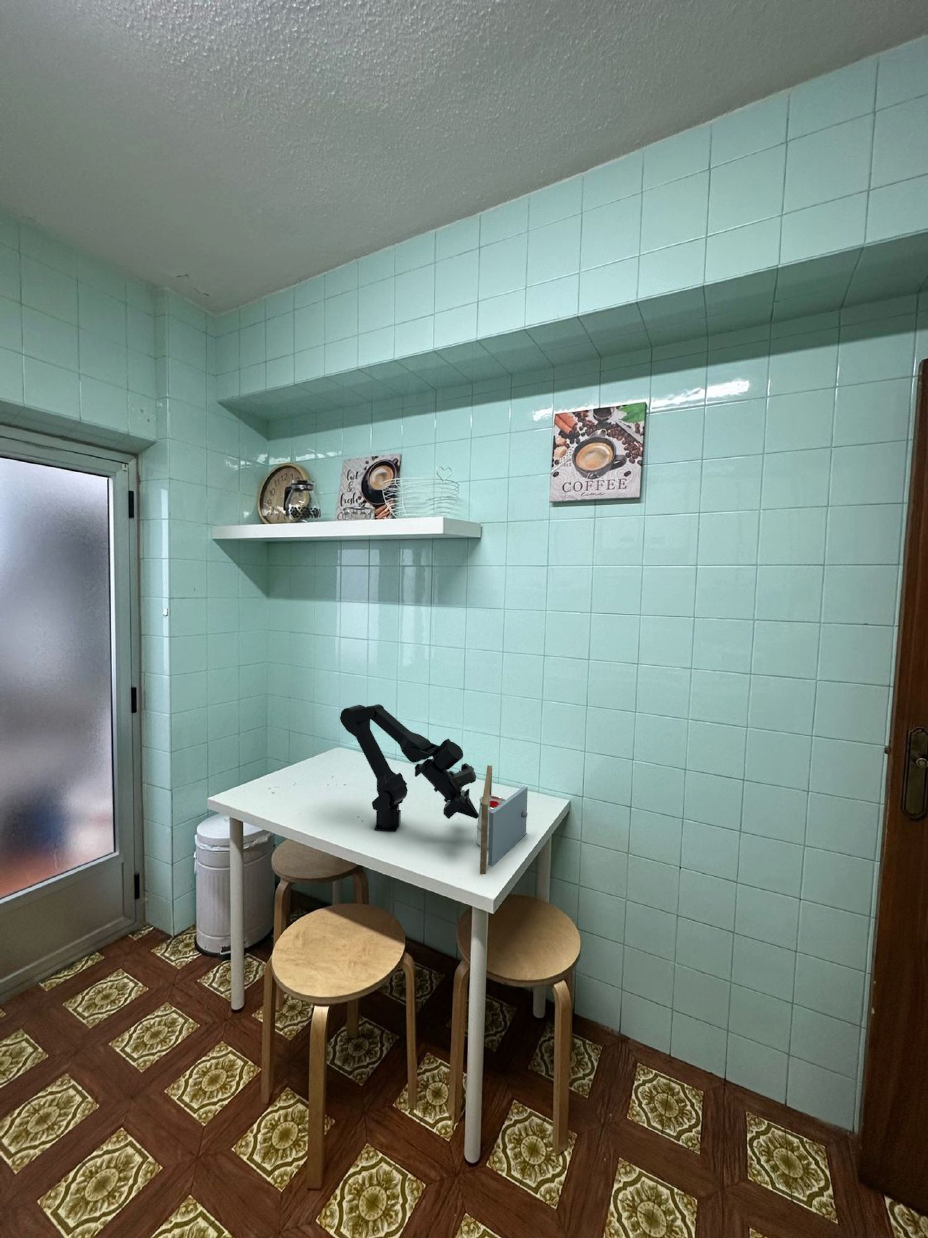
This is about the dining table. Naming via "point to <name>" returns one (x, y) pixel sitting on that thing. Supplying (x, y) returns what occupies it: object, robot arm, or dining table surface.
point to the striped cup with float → (493, 803)
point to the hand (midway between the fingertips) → (477, 817)
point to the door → (507, 825)
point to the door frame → (485, 820)
